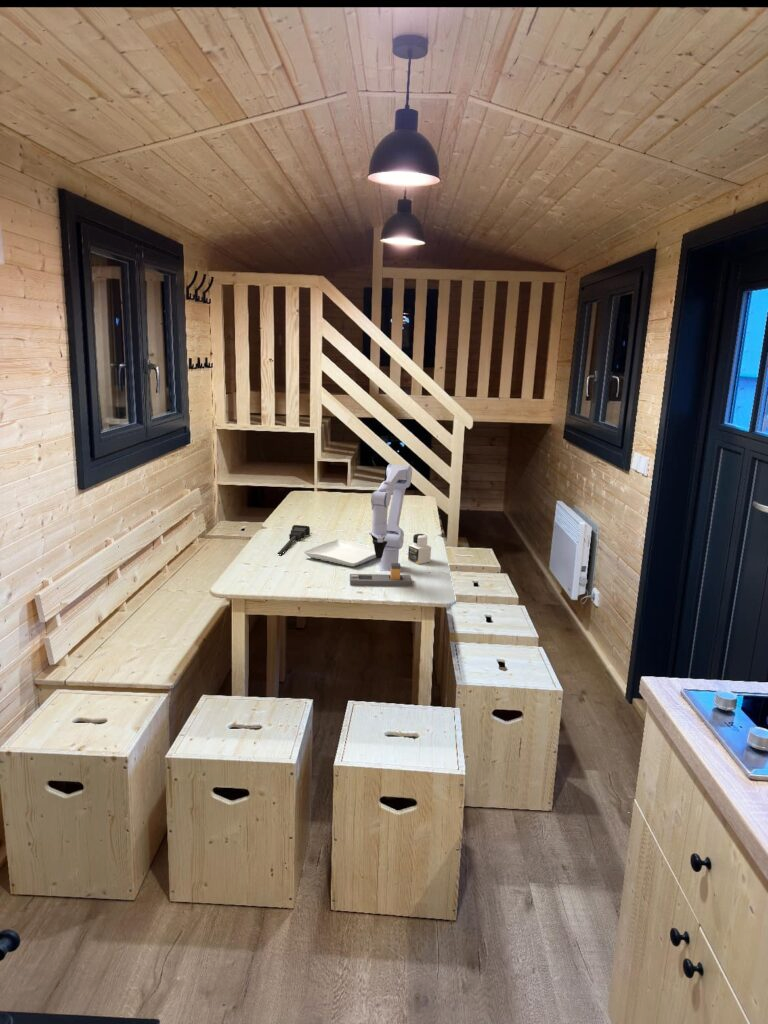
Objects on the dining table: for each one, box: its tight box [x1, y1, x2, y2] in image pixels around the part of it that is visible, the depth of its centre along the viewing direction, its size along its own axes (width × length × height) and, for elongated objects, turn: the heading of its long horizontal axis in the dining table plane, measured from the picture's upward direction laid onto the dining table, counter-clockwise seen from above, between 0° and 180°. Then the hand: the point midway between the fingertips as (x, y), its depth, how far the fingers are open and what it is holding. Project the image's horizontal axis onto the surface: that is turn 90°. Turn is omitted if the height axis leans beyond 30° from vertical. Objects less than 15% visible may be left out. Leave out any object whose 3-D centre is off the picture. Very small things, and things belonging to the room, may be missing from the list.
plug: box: [389, 562, 401, 580], centre depth 278 cm, size 4×4×8 cm
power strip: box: [349, 573, 413, 587], centre depth 278 cm, size 8×24×3 cm, turn 94°
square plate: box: [302, 539, 377, 568], centre depth 311 cm, size 27×27×4 cm
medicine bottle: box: [407, 533, 432, 565], centre depth 308 cm, size 7×7×12 cm
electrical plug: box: [277, 524, 311, 555], centre depth 329 cm, size 9×42×5 cm, turn 172°
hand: (378, 555), depth 280 cm, fingers open, 7 cm apart
